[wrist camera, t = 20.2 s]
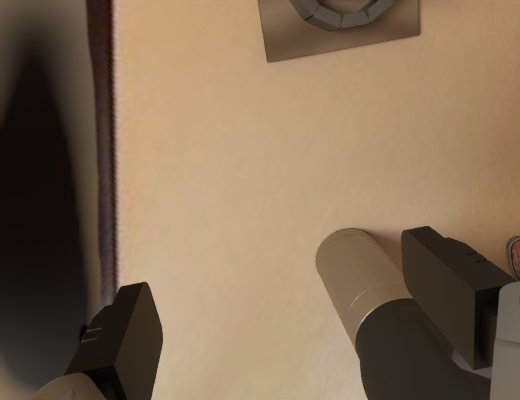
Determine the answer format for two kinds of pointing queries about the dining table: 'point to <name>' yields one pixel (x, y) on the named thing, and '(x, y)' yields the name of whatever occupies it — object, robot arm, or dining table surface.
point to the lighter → (514, 256)
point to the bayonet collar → (333, 21)
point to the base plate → (318, 40)
